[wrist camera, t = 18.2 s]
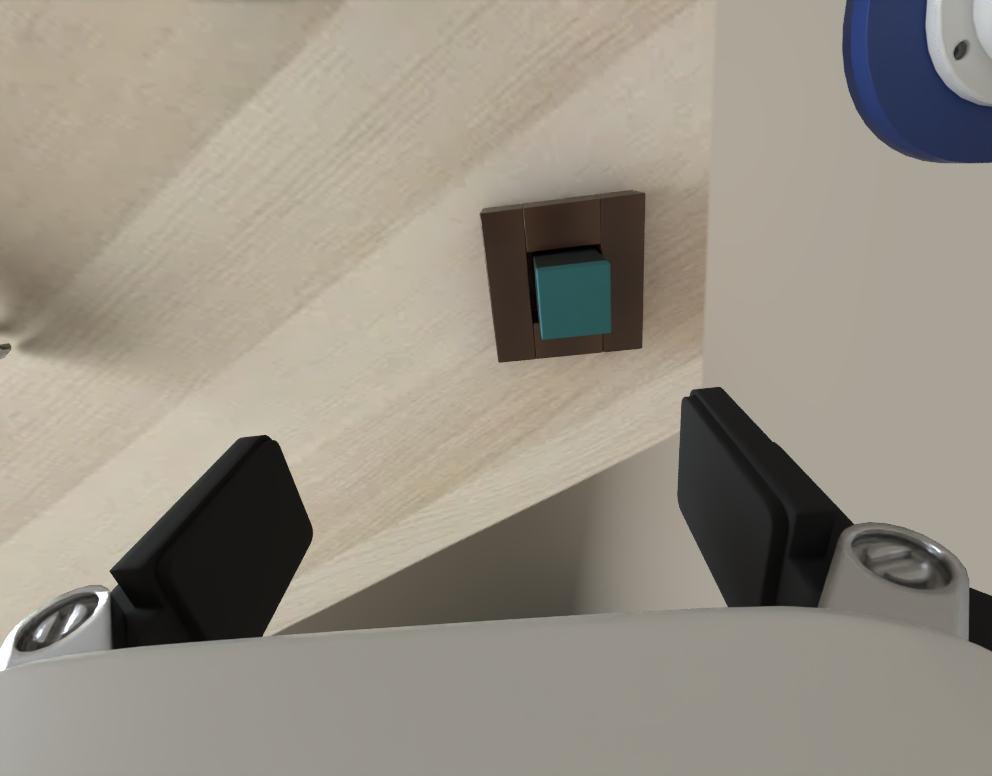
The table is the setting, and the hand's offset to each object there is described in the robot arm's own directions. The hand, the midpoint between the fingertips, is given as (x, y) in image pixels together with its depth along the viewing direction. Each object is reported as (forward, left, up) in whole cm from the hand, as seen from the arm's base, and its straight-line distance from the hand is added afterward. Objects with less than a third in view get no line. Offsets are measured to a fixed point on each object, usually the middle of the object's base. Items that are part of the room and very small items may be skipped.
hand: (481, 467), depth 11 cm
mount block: (-3, +3, -23) cm, 23 cm away
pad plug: (-3, +3, -23) cm, 23 cm away
